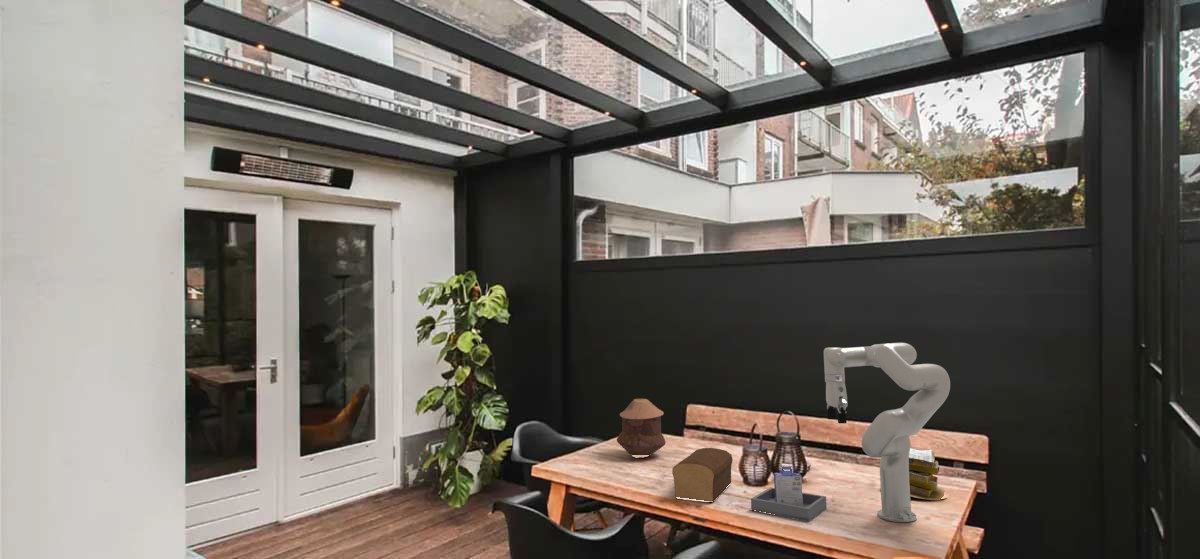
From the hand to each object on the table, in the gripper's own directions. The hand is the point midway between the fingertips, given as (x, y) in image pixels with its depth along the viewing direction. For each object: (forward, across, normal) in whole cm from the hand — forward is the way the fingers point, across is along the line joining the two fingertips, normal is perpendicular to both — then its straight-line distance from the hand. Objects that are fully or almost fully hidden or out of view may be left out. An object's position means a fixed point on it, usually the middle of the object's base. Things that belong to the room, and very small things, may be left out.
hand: (836, 421), depth 247 cm
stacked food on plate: (+30, +2, -32) cm, 44 cm away
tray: (+30, -12, +25) cm, 41 cm away
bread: (+30, +16, +52) cm, 62 cm away
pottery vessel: (+30, +83, +70) cm, 112 cm away
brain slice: (+31, +45, +3) cm, 55 cm away
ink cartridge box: (+29, -12, +25) cm, 40 cm away
